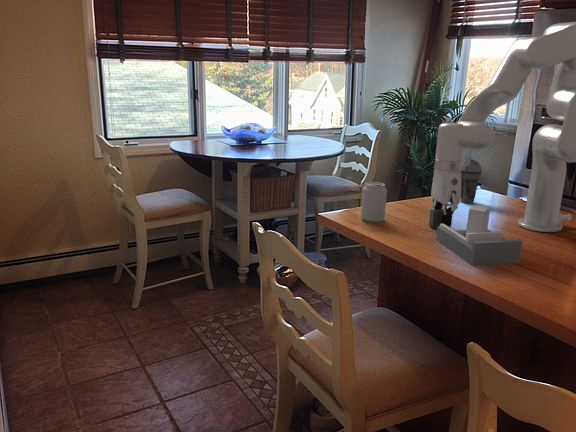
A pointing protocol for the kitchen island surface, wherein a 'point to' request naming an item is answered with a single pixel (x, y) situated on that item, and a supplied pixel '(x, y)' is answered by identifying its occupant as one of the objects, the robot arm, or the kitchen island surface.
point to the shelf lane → (481, 249)
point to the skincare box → (478, 219)
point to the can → (373, 202)
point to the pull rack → (463, 230)
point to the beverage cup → (469, 180)
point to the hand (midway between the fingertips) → (441, 223)
